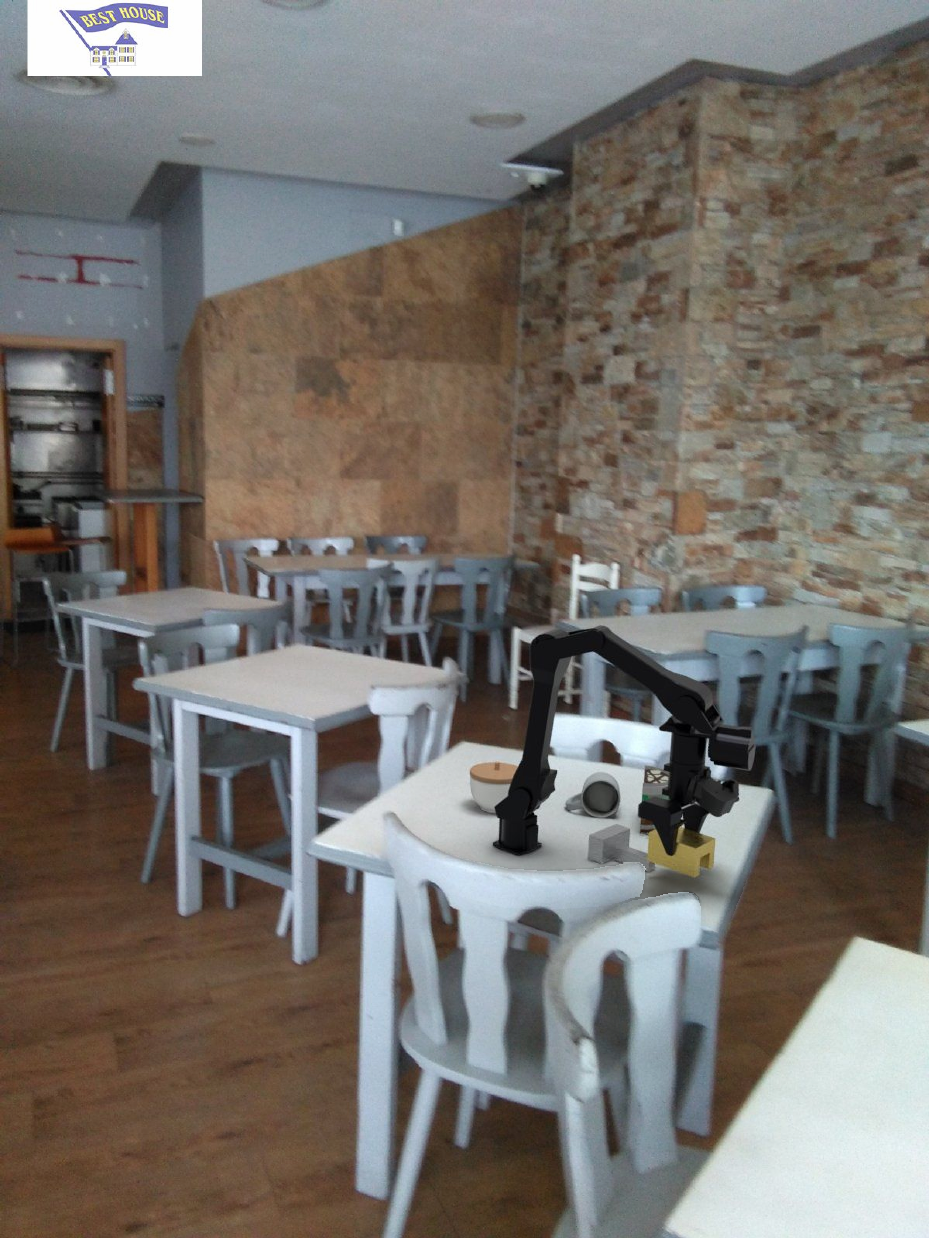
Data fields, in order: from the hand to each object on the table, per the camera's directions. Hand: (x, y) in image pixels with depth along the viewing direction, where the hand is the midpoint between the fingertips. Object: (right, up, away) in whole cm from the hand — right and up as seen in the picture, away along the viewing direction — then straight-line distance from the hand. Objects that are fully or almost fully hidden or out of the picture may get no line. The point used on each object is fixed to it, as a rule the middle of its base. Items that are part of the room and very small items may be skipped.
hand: (680, 850), depth 174 cm
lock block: (0, -2, 0) cm, 2 cm away
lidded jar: (-30, +1, +33) cm, 44 cm away
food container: (+1, -1, +26) cm, 26 cm away
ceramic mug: (-11, 0, +33) cm, 35 cm away
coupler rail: (-8, -4, +8) cm, 12 cm away
